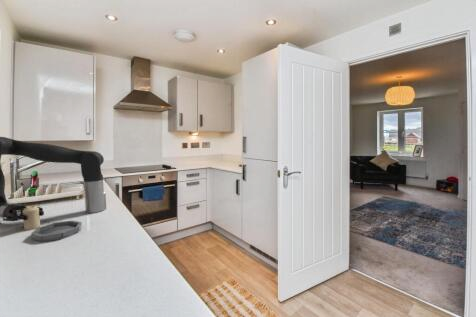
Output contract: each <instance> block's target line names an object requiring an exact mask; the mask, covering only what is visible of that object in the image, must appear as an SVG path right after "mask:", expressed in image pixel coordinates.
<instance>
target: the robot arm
mask: <svg viewBox="0 0 476 317" xmlns="http://www.w3.org/2000/svg"><path fill="white" fill-rule="evenodd" d="M5 155H7V156H8V155H10V156H21V157H27V158H30V159H31V160H32V159H33V160H36V161H39V162H40V161H41V162H47V163H56V164H57V163H58V164H64V163H65V164H72V163H73V164H79V165H80V170H81V176H82V179H83V189H84V191H83V192H84V204H85V205H84V208H85V213H87V214H94V213H99V212H103V211H105V210H107V194H106V191H105V188H104V175H103V174H102V168H101V165H103V163H104V156H103V154H101V153H100V152H98V151H90V150H79V149H73V148H68V147H64V146H60V145H55V144H48V143H40V142H28V141H25V142H24V141H22V140H17V139H14V138H9V137H6V136H0V161H2V156H5ZM5 187H6V178H5V174H4V172H3V169H2V166H1V163H0V218H2V221H3V222H4V221H6V222H18V221H21V220H22V221H23V220H28V217H27V215H24V214H23V210H24V209H25V208H26V207H27V206H26V205H24V204H20V203H13V202H12V203H11V202H10V203H9V202H8V200H7V198H6V193H5V189H6V188H5ZM37 207H38V208H39V217H42V216H44V215H45V211H44V208H43V207H42V206H41V207H40V206H37Z"/></svg>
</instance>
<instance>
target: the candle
mask: <svg viewBox="0 0 476 317" xmlns="http://www.w3.org/2000/svg"><path fill="white" fill-rule="evenodd" d="M38 207H39V206H36V205H30V206H29V205H27V206H26V208H25V209H24V210H23V214H24V215H27V217H28V220H22V221H23V229H24V230H25V231H29V230H36V229H37V228H39V227H41V219H40V217H41V216H39V208H38Z"/></svg>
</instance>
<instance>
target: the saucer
mask: <svg viewBox="0 0 476 317" xmlns="http://www.w3.org/2000/svg"><path fill="white" fill-rule="evenodd" d="M82 226H83V225H82V221H76V220H65V221H56V222H51V223H48V224H46V225H42V226H40V227H39V228H36V229H34V231H32V232H31V234H30V235H31V238H32V239H33V240H34V241H35V242H52V241H57V240H58V241H59V240H62V239H66V238H69V237H72V236H74V235H76V234H79V232H81V230H82V228H81V227H82Z"/></svg>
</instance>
